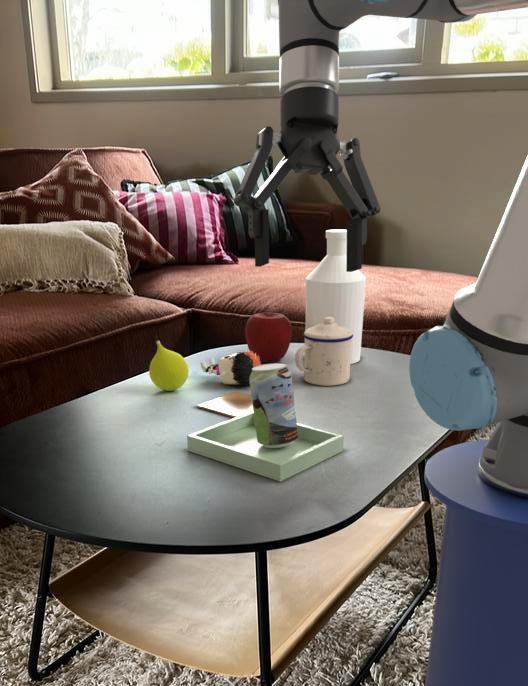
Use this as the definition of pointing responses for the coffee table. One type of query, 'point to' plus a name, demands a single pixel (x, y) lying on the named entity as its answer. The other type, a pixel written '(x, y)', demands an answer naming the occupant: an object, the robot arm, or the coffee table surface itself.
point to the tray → (246, 453)
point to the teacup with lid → (326, 354)
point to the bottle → (337, 291)
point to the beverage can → (273, 405)
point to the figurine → (233, 367)
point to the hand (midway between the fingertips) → (309, 267)
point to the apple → (268, 335)
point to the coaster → (230, 404)
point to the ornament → (168, 369)
